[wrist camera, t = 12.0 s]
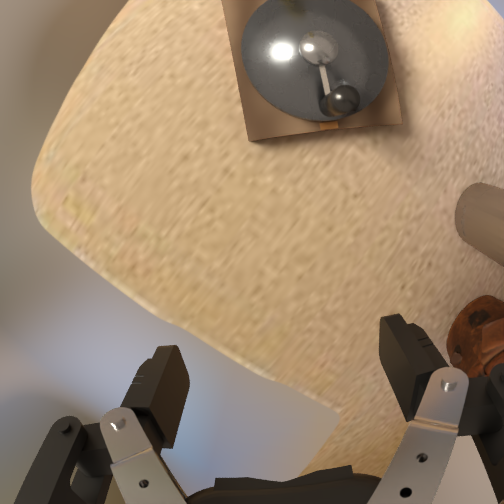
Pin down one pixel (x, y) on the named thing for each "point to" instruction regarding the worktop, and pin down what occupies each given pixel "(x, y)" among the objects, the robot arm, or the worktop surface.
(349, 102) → the handwheel
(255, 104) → the wheel stand
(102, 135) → the worktop surface
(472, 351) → the chocolate muffin
